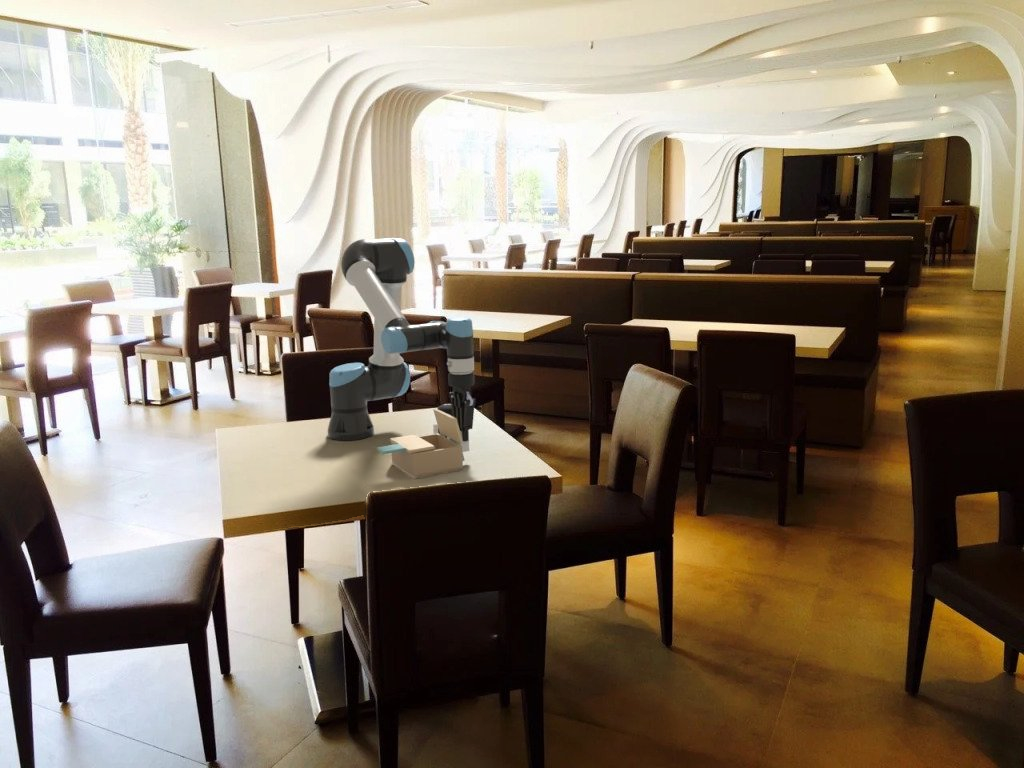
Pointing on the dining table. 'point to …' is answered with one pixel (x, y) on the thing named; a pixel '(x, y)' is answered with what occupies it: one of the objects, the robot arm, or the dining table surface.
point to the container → (446, 409)
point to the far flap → (448, 426)
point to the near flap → (406, 445)
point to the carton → (430, 458)
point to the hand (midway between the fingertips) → (463, 451)
